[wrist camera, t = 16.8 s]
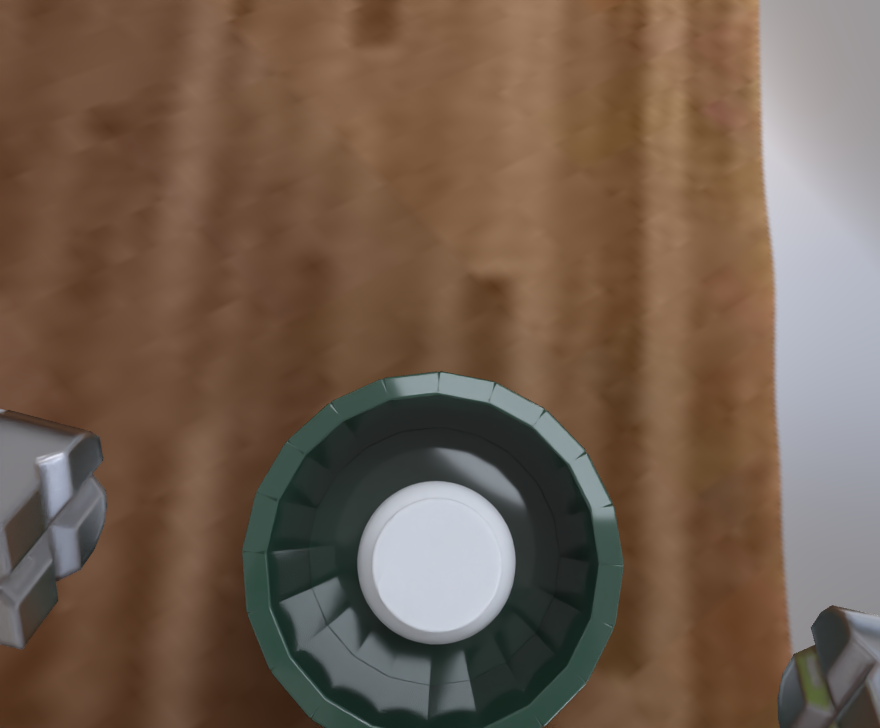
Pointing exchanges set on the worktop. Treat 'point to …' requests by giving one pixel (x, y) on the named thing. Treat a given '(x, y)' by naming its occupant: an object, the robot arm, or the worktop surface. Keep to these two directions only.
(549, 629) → the crock
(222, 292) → the worktop surface
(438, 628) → the pill bottle
